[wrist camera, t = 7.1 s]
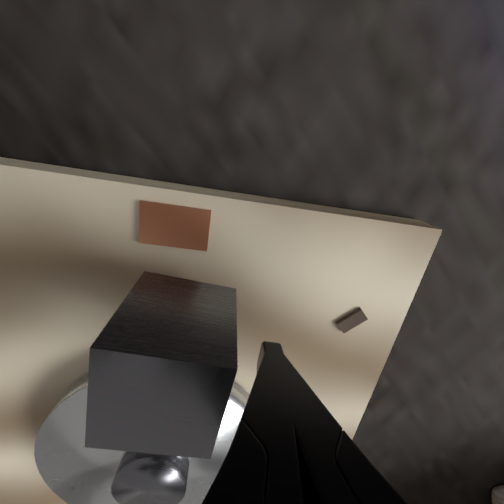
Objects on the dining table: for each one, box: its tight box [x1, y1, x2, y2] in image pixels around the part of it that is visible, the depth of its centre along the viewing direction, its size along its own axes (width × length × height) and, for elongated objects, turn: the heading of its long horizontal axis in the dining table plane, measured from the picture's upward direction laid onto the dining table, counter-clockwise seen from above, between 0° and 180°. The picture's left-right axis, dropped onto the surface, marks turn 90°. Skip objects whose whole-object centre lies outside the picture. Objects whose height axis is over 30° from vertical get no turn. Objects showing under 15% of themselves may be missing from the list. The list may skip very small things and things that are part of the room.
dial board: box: [0, 157, 442, 504], centre depth 14 cm, size 24×20×2 cm
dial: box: [34, 271, 249, 504], centre depth 10 cm, size 14×10×5 cm
